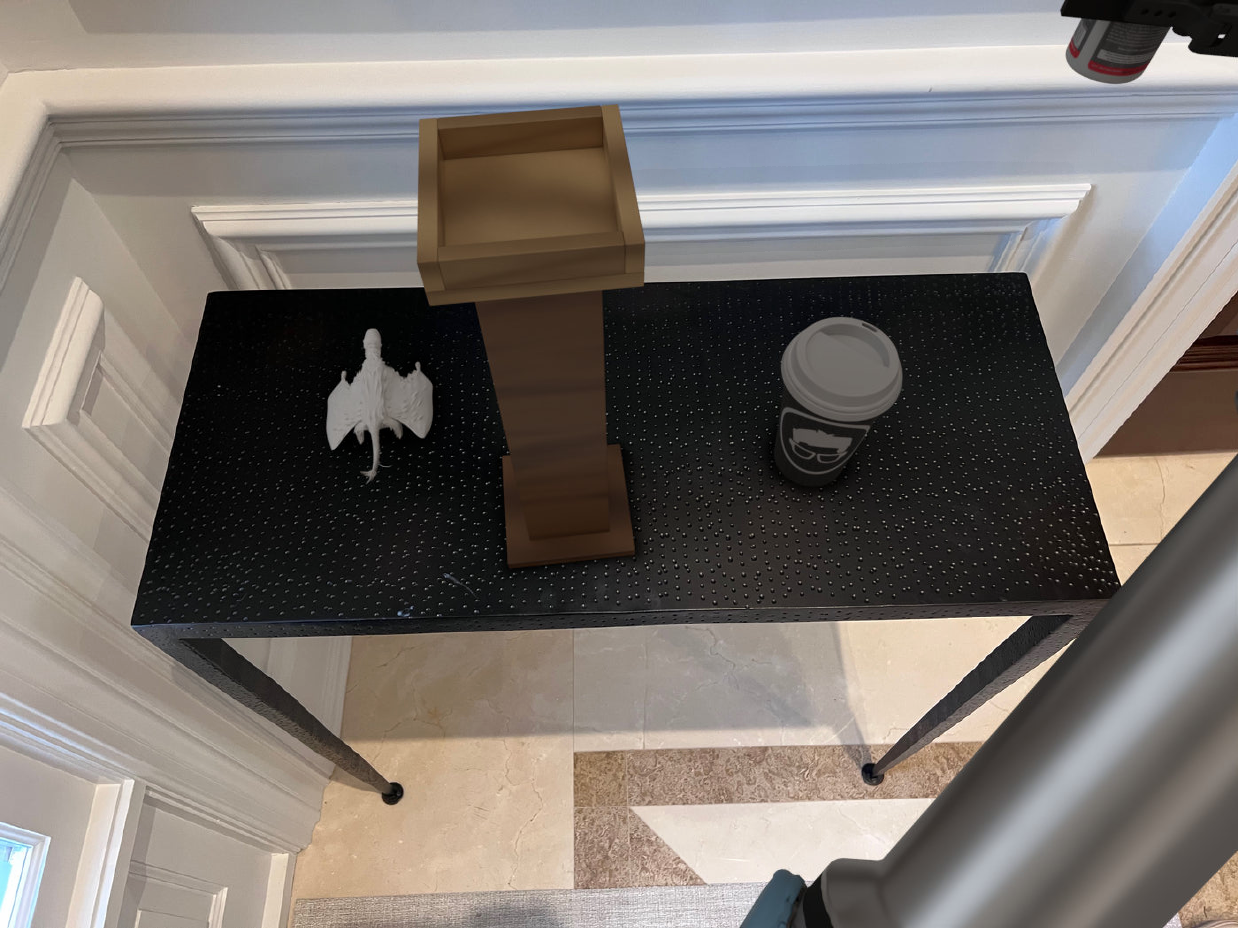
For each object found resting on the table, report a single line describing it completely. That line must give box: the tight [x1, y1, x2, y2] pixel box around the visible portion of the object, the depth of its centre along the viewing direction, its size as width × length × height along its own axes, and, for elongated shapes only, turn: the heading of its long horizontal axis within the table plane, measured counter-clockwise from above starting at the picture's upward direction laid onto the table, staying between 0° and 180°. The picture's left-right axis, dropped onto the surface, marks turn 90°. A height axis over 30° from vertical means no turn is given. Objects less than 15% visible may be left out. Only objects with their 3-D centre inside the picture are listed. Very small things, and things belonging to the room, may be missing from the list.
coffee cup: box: [773, 316, 903, 488], centre depth 68 cm, size 10×10×15 cm
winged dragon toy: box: [326, 328, 434, 485], centre depth 75 cm, size 18×10×4 cm, turn 9°
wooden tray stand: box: [416, 103, 646, 569], centre depth 56 cm, size 11×11×36 cm
